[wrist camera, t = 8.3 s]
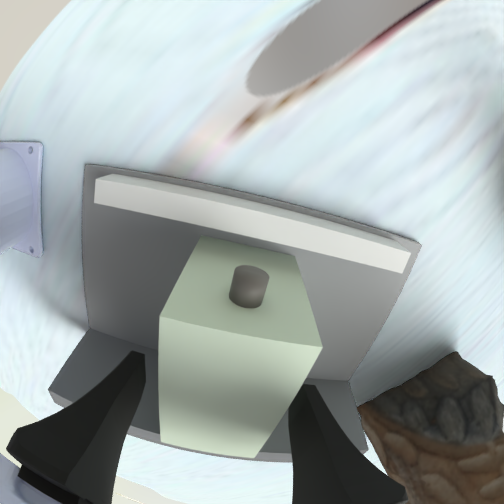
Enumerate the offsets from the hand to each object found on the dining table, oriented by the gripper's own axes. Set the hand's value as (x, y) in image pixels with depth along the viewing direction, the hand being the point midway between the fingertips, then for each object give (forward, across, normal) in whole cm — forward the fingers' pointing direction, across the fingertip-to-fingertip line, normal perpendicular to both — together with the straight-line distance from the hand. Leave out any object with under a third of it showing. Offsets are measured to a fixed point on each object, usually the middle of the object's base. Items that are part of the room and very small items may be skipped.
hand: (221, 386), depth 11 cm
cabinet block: (+5, 0, 0) cm, 5 cm away
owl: (+6, -20, +8) cm, 22 cm away
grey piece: (+6, 0, -1) cm, 6 cm away
